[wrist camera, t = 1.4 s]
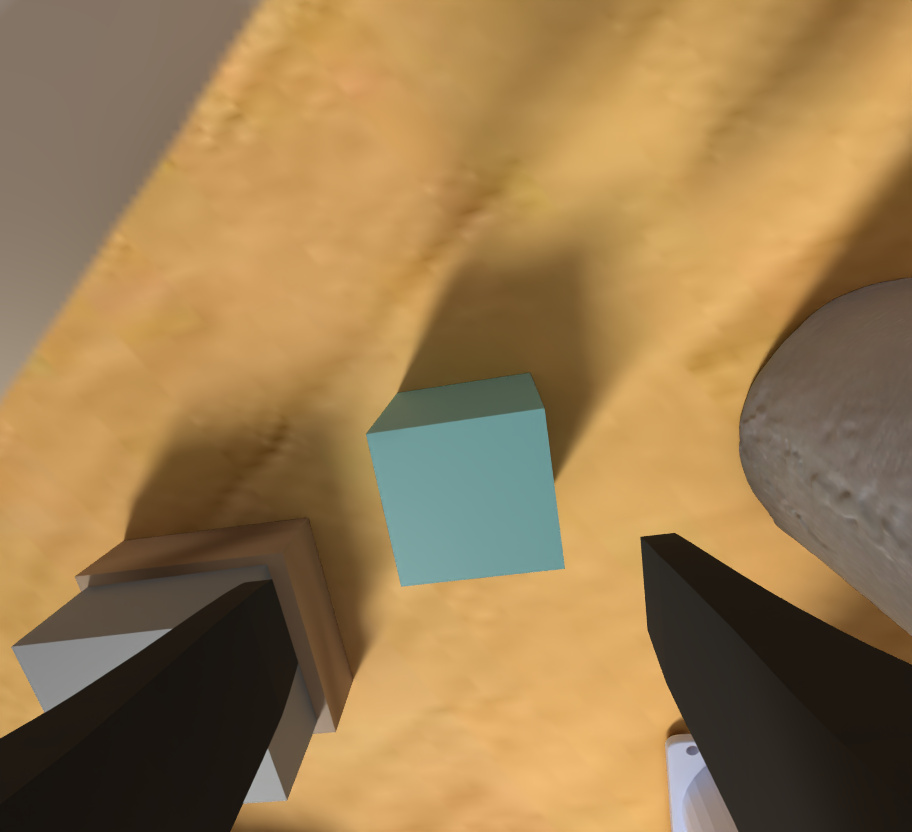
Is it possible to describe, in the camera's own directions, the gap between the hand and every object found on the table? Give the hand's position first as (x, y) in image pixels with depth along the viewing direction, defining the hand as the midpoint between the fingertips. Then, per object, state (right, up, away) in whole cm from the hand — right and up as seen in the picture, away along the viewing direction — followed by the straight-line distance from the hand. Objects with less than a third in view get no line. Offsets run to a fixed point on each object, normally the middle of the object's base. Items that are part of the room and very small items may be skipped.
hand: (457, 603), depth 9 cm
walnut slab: (-9, -5, +12) cm, 16 cm away
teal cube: (+1, +3, +9) cm, 9 cm away
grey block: (-10, -5, +9) cm, 14 cm away
